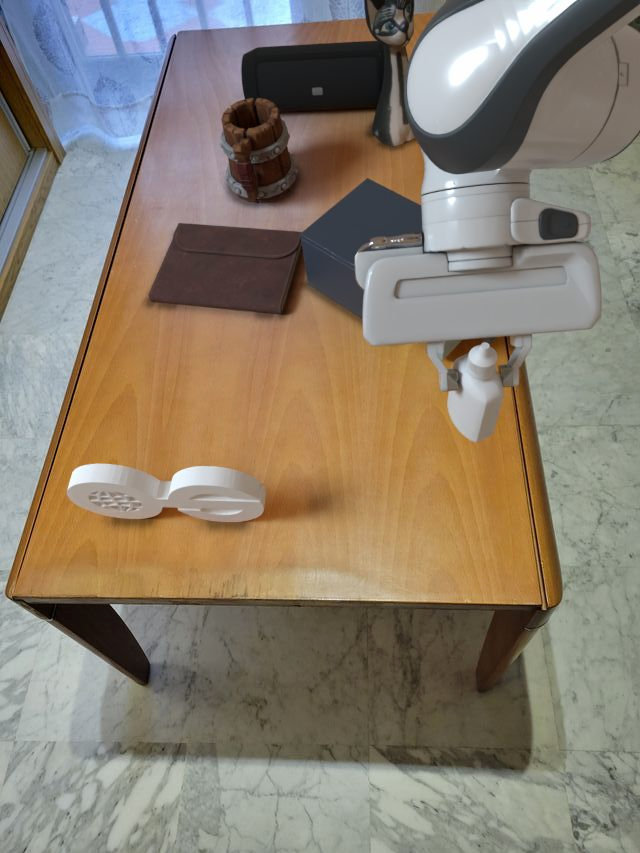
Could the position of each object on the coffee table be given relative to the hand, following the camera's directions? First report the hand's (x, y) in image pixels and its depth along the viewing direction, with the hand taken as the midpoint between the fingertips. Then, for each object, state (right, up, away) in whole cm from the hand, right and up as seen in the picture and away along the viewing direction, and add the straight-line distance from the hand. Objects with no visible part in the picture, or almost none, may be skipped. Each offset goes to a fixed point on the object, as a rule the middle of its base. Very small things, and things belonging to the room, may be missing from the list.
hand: (478, 388), depth 57 cm
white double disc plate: (-31, -14, +18) cm, 38 cm away
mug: (-24, +35, +46) cm, 63 cm away
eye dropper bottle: (+1, -3, +6) cm, 7 cm away
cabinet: (-6, +17, +33) cm, 38 cm away
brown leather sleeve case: (-28, +20, +37) cm, 50 cm away
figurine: (-2, +46, +50) cm, 68 cm away
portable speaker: (-14, +54, +56) cm, 79 cm away
